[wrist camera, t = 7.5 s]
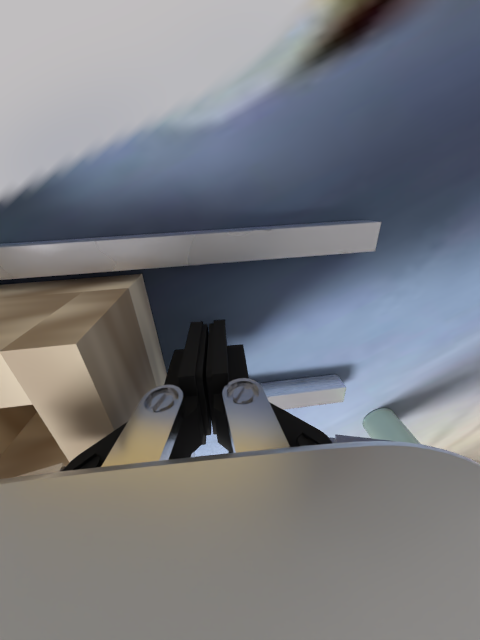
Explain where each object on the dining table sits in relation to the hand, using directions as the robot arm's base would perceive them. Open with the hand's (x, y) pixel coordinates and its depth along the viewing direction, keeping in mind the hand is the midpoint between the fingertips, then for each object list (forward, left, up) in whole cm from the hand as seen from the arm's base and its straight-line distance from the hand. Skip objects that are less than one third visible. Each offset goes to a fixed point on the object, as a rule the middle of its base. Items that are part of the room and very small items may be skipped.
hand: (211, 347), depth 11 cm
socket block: (+6, 0, -2) cm, 7 cm away
